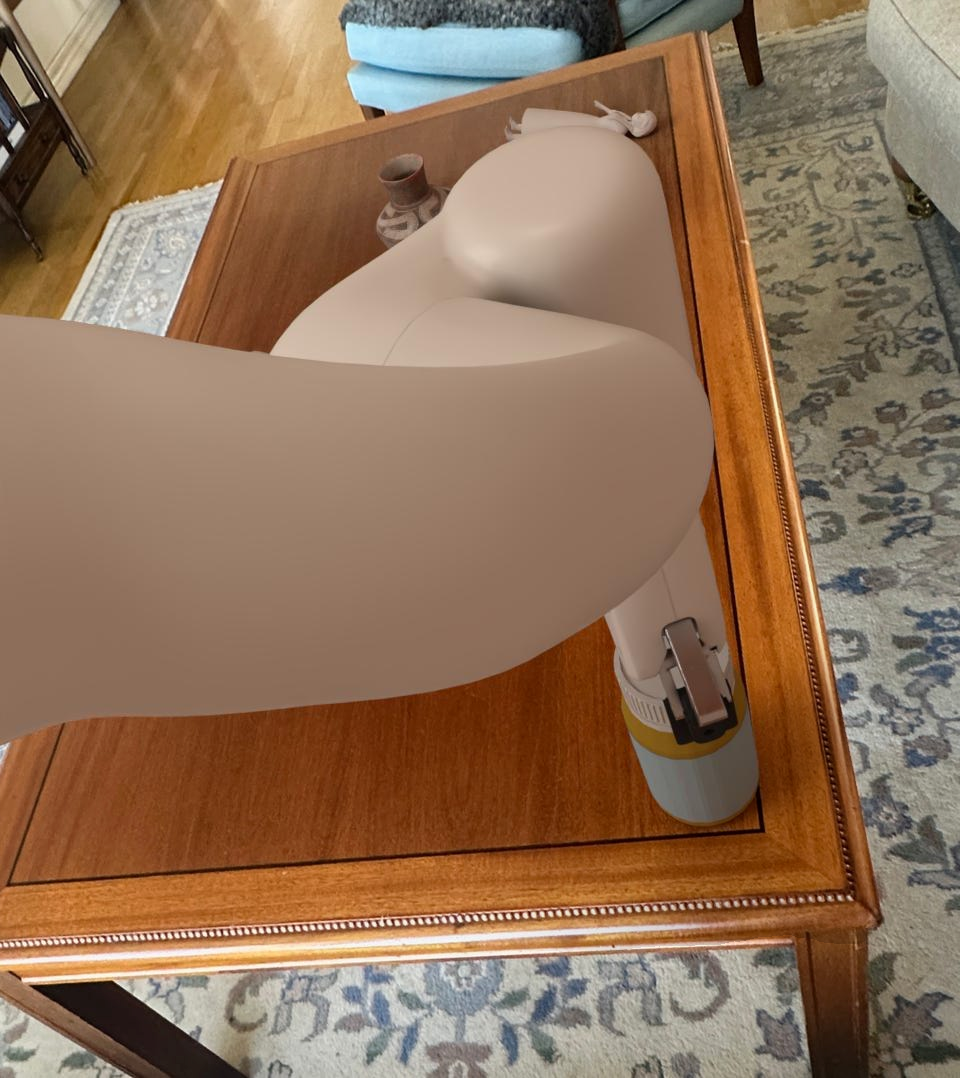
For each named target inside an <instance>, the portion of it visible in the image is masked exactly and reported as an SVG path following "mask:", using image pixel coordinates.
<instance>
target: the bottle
mask: <svg viewBox="0 0 960 1078" xmlns="http://www.w3.org/2000/svg"><path fill="white" fill-rule="evenodd" d="M696 634H697V636H698V638H700V637H699V634H698V633H696ZM663 638H664V641H665V646H666V649H669V648H670V646H669V643H668V640H667V638H666V636H663ZM715 652H716V655H717V658H718V661H719V664H720V667H721V669H722V672H723V675H724V678H725V679H726V678H727V680H728V682H729V684H730V687H731V691H732V696H733V700H734V705H735V710H736V714H737V719H738V725H737V726H736V727H734V728H732V729H729V730H726V733H725V734H724V735H723V736H722V737H721V738H719V739H717V740H714V741H711V742H708V743H704V744H698V743H695V741H694V742H691V743H688V744H685V745H678V744H677V742H676V739H675V737H674V734H673V731H672V728H671V725H670V722H669V719H668V716H667V713H666V710H665V707H664V703H663V700H665V698H666V697H667V695H666V692H665V689H664V687H663V684H662V681H661V678H660V676H659V673H658V675H657V676H656V677H653V678H649V679H645V680H641V681H638V680H636V679H634V678H632V677H631V676H629V675H628V674H627V672H626V670H625V668H624V666H623V663H622V661H621V658H620V656H619V653H618V650H617V648H616V647H615V650H614V653H613V654H614V655H613V668H614V674H615V677H616V680H617V682H618V685H619V688H620V690H621V700H620V701H621V702H620V708H621V713H622V717H623V720H624V723H625V726H626V729H627V731H628V734H629V737H630V739H631V742H632V745H633V748H634V751H635V753H636V756H637V759H638V761H639V764H640V767H641V769H642V772H643V776H644V777H645V780H646V783H647V786H648V788H649V791H650V793H651V795H652V797H653V799H654V801H655V802H656V803H657V805H658V806H659V807H660V808H661V810H662V811H663V812H664V813H666V814H667V815H669V816H671V818H673V819H674V820H676V821H678V822H681V823H683V824H687V825H689V826H695V827H714V826H717V825H721V824H724V823H728V822H730V821H731V820H733V819H734V818H736V817H738V816H739V815H740V814H742V813H743V812H744V811H745V810H746V809H747V808H748V807H749V805H750V804H751V803H752V801H754V798H755V796H756V793H757V790H758V787H759V784H760V768H759V760H758V756H757V755H758V754H757V748H756V742H755V737H754V731H753V725H752V720H751V715H750V709H749V703H748V697H747V692H746V688H745V684H744V682H743V680H742V678H741V675H740V674H739V672H738V670H737V669H736V668H735V667H734V664H733V659H732V654H731V653H732V652H731V648H730V645H729V642H728V640H727V638H726V642H725V644H724V647H723V649H722V650H721V652H720V653H719V654H718V653H717V651H716V650H715ZM670 671H671V674H672V677H673V680H674V682H675V685H676V688H677V689H678V688H681V687H684V686H685V685H684V682H683V680H682V677H681V674H680V672H679V669H678V667H674V668H671V669H670Z"/></svg>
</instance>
